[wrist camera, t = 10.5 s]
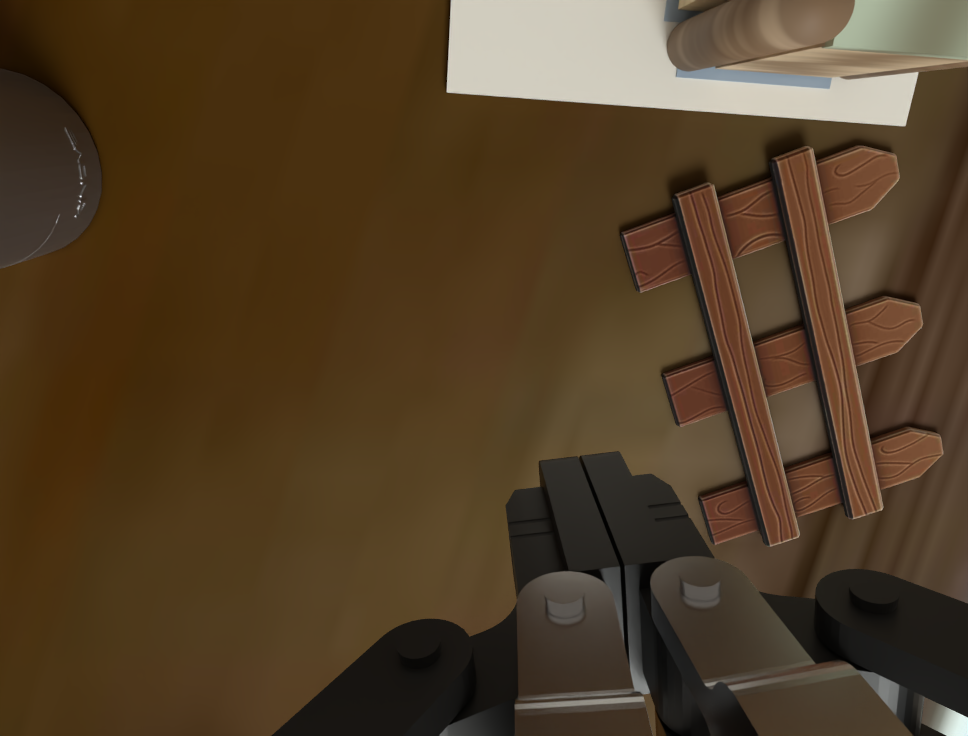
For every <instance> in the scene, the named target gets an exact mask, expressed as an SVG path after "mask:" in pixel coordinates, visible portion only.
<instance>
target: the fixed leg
mask: <svg viewBox="0 0 968 736" xmlns="http://www.w3.org/2000/svg"><path fill="white" fill-rule="evenodd" d="M667 53H668V57H669V59H670V61H671V63H672V64H673V65H674V66H675V67H676V68H678V69H680V70H682V71H687V72H690V71H696V70H701V69H705V68H710V67H715V69H725V70H738V71H750V72H763V73H776V74H789V75H802V76H815V77H827V78H833V77H840V78H842V79H846V80H851V79H860V78H869V77H878V76H887V75H896V74H905V73H914V72H924V71H933V70H942V69H951V68H960V67H968V0H730V1H728V2H726V3H723V4H721V5H719V6H717V7H714V8H712V9H710V10H707V11H705V12H703V13H701V14H698V15H696V16H694V17H692V18H689V19H687V20H685V21H682V22H681V23H679V24H678V25H677V26H676V27H675V28H674V29H673V30H672V32H671V33H670V36H669V38H668V42H667Z"/></svg>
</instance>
